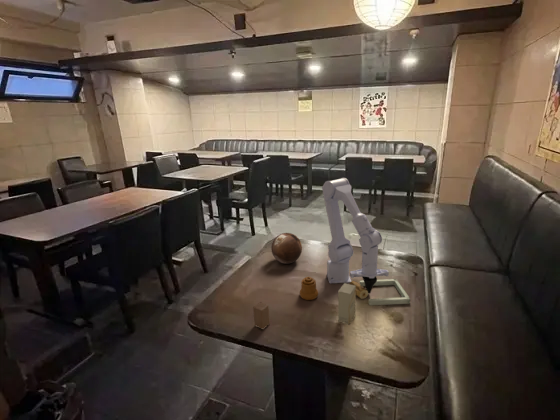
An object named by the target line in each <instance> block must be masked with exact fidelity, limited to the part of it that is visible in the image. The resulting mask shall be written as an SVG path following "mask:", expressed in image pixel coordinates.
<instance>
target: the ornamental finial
mask: <svg viewBox="0 0 560 420" xmlns="http://www.w3.org/2000/svg"><path fill="white" fill-rule="evenodd" d="M300 285H301V287H300V289H299V296H300V298H302V299H303V300H305V301H313V300H315V299H317V298H318V297H319V296H318V295H319V290H318V289H317V281H316V279H314V278H313V277H311V276H306V277H304V278H303V279H301V284H300Z"/></svg>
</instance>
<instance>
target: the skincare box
mask: <svg viewBox="0 0 560 420" xmlns="http://www.w3.org/2000/svg"><path fill="white" fill-rule="evenodd" d="M337 292H338V294H337V295H338V297H337V304H338V305H337V308H338V309H337V321H338V322H341V323H343V324H346V325H351V323H352V322H353V320H354V318H355V316H356V300H357V299H356V297H357V295H356V286H355V285H351V284H350V283H342V285H341V286H340V288H339V289H338V291H337Z"/></svg>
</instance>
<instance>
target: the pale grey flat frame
mask: <svg viewBox="0 0 560 420" xmlns="http://www.w3.org/2000/svg"><path fill="white" fill-rule="evenodd" d="M359 284H360V285H361V286H363V287H366V286H365V283H364V280H363V279H362V280H359ZM374 286H376V287H377V286H394V287H395V288H396V290H397V292H398V293H399V295H400V296H401V297H383V298H381V297H380V298H368V305H369V306H385V305H406V304H407V305H409V304H411V298H410V296H409V295H408V294H407V292H406V291H405V289H404V287H402V285H401V284H400V282H399V280H398V279H397V278H388V279H377V282H376V283H375V284H374ZM374 286H373V287H374Z"/></svg>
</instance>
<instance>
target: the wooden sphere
mask: <svg viewBox="0 0 560 420" xmlns="http://www.w3.org/2000/svg"><path fill="white" fill-rule="evenodd" d="M302 252H303V245H302V242H301V240H300V239H299V237H298V236H297V235H295V234H293V233H291V232H283V233H280V234H277V236H275V238H274V239H273V240H272V243H271V254H272V256H273V257H274V259H275V260H276V261H277V262H279V263H282V264H286V265H287V264H293V263H295V262H296V261H297V260H298V259H299V258H300V257H301V254H302Z"/></svg>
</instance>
